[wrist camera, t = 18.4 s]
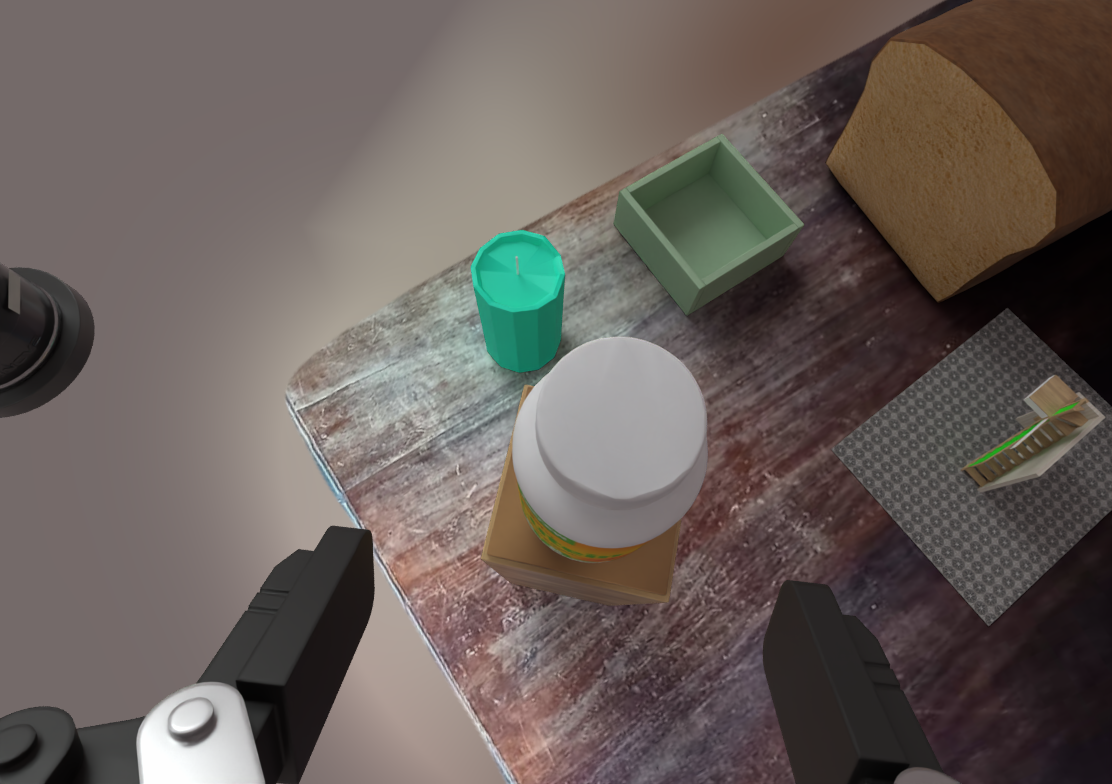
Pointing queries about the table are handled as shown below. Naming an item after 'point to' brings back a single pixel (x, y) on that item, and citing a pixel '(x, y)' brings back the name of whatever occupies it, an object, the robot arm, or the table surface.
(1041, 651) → the table surface
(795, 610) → the robot arm
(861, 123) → the bread
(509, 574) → the riser
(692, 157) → the basket
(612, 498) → the supplement bottle
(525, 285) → the candle
